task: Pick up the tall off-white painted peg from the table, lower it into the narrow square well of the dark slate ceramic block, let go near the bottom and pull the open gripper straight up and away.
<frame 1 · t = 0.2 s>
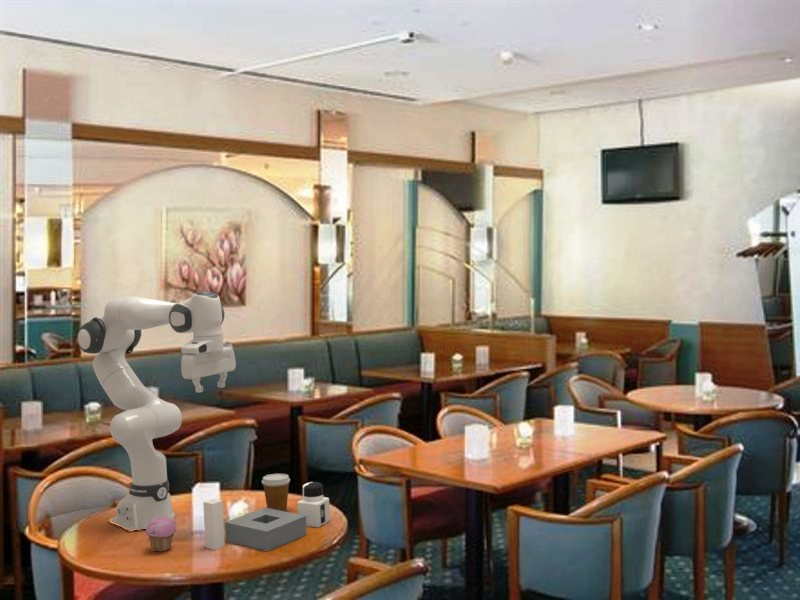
hand: (210, 389, 276), 47 cm above the table, fingers open, 8 cm apart
container: (314, 523, 294), on the table
cupcake: (162, 550, 272), on the table
disposable coffee cup: (277, 512, 307), on the table
peg: (214, 546, 273), on the table
well block: (266, 538, 280), on the table
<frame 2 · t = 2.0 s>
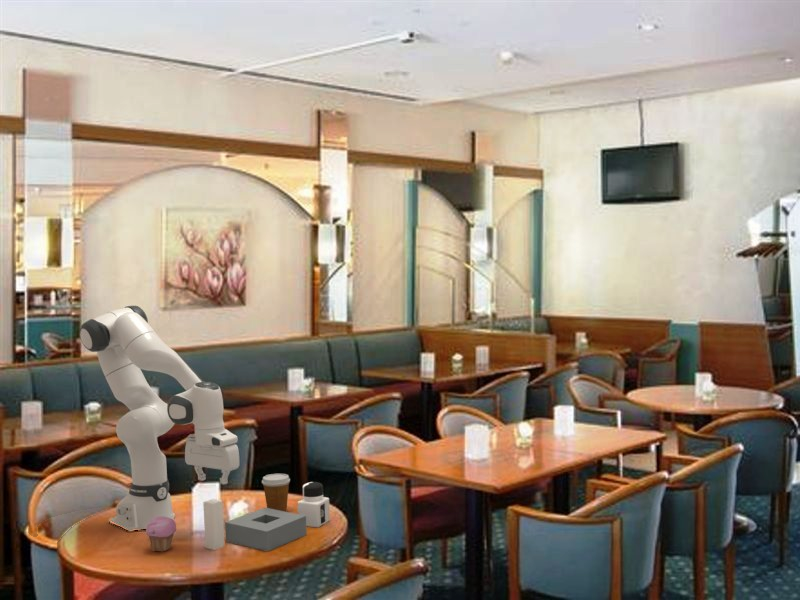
hand: (212, 481, 272), 20 cm above the table, fingers open, 8 cm apart
nothing on the table moved.
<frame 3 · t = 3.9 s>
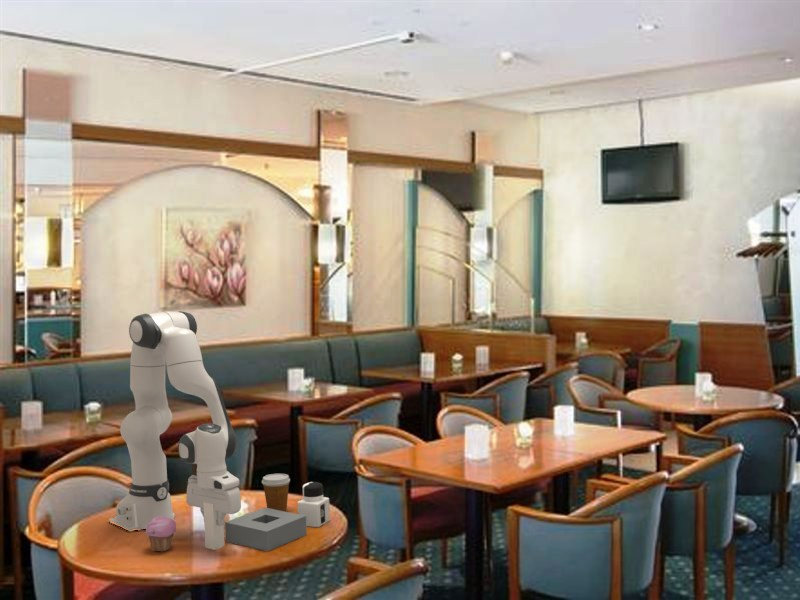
hand: (213, 523, 273), 7 cm above the table, fingers closed on peg, 4 cm apart
peg: (214, 546, 273), on the table, touching gripper
everything else where it was.
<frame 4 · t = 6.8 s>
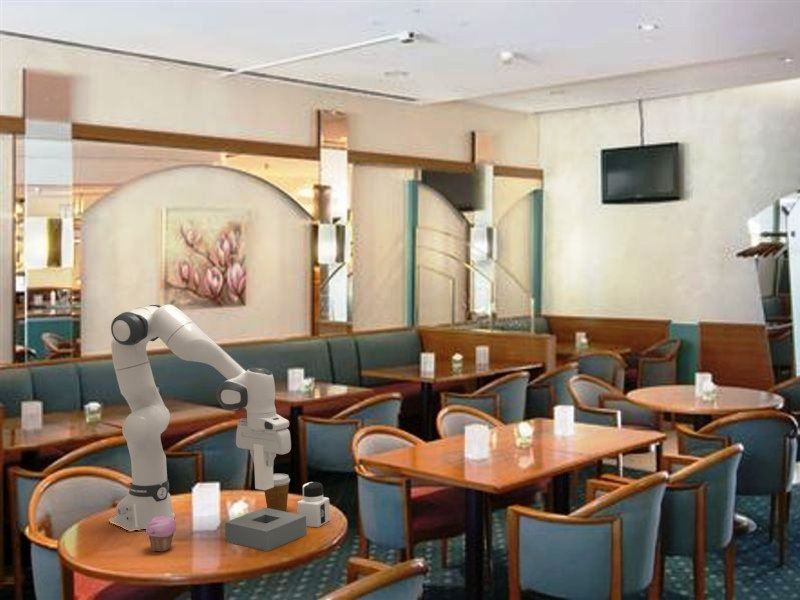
hand: (263, 465, 278), 23 cm above the table, fingers closed on peg, 4 cm apart
peg: (264, 487, 279), point 16 cm above the table, touching gripper
everything else where it was.
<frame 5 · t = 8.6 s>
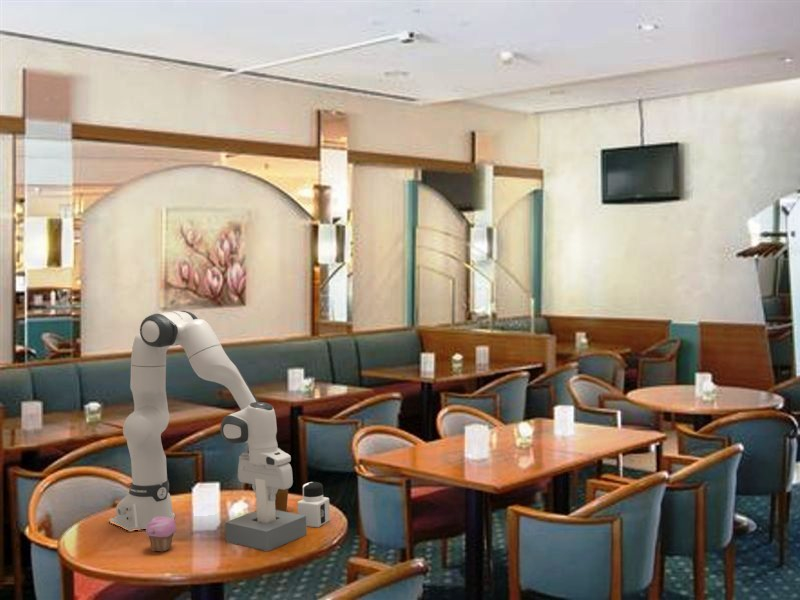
hand: (265, 499, 279), 12 cm above the table, fingers closed on peg, 4 cm apart
peg: (266, 522, 280), point 5 cm above the table, touching gripper
everything else where it was.
when the fingers open (9 cm above the table, at t = 10.1 s): peg drops 1 cm, resting in well block.
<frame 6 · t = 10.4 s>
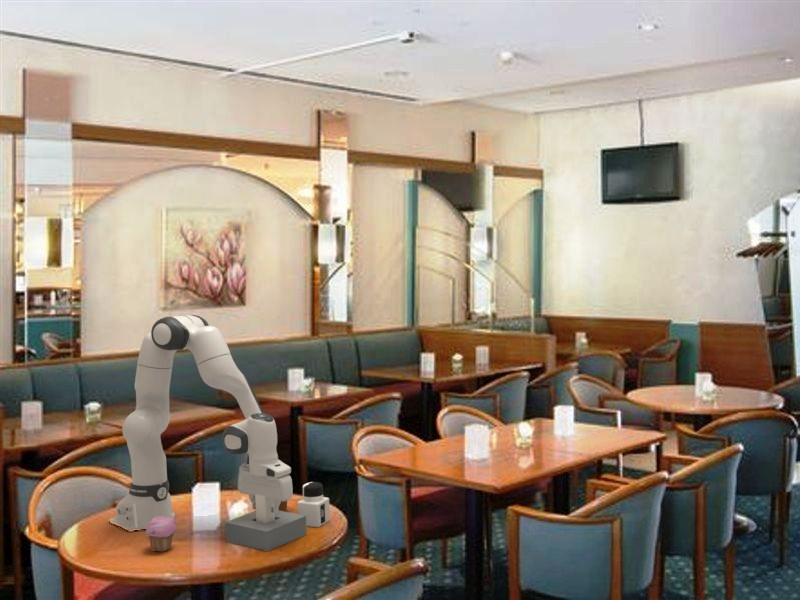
hand: (265, 510, 279), 9 cm above the table, fingers open, 7 cm apart
peg: (266, 538, 280), resting in well block
everything else where it was.
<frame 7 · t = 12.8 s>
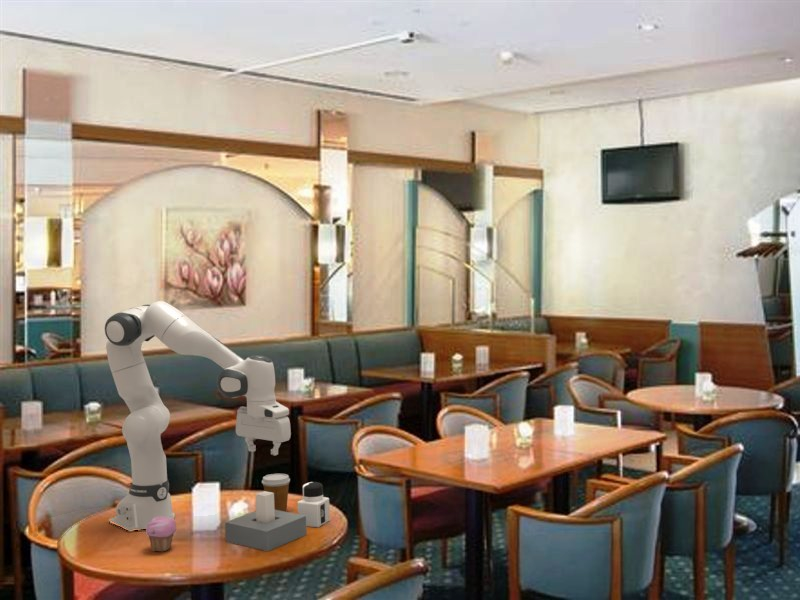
hand: (263, 453, 278), 27 cm above the table, fingers open, 8 cm apart
nothing on the table moved.
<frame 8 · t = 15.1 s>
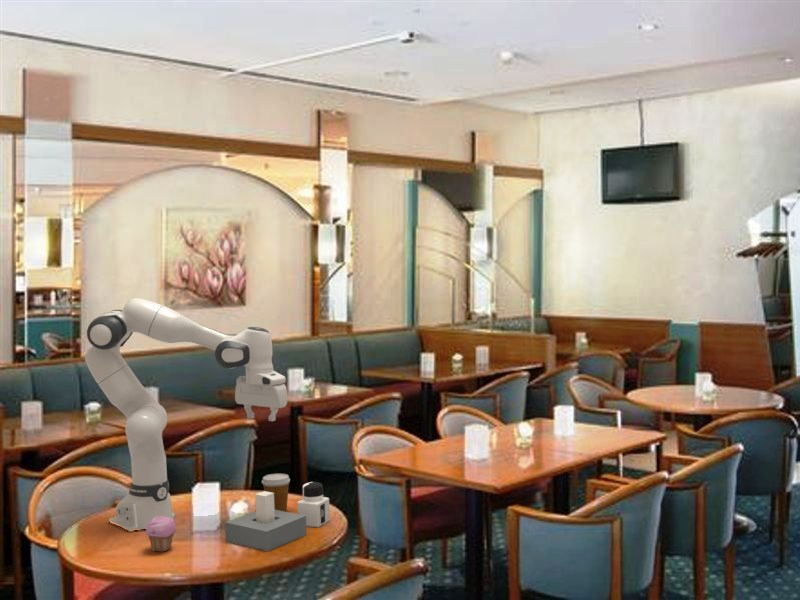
hand: (261, 419, 293), 34 cm above the table, fingers open, 8 cm apart
nothing on the table moved.
at the end: peg 0.1 cm off-centre on the well block, point 0.0 cm above the well block's base; peg tilted 0°; the gripper is holding nothing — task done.
